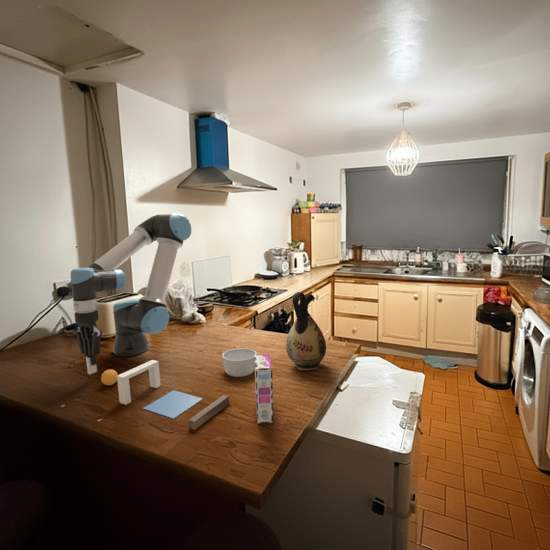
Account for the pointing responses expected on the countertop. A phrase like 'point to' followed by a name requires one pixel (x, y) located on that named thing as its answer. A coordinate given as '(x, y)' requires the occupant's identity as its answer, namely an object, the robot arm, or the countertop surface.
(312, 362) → the ceramic jug
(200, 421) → the stopper
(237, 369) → the ramekin
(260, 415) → the candy bar box
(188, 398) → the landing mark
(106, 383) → the ball
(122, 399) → the bridge
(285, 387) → the countertop surface
